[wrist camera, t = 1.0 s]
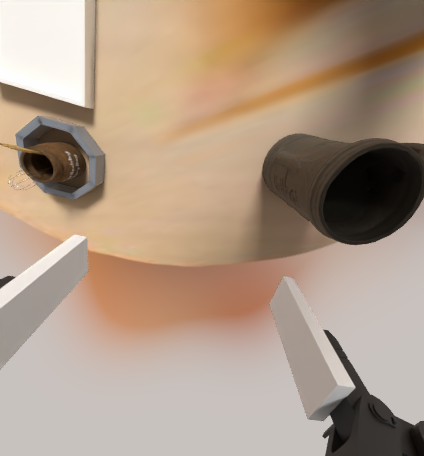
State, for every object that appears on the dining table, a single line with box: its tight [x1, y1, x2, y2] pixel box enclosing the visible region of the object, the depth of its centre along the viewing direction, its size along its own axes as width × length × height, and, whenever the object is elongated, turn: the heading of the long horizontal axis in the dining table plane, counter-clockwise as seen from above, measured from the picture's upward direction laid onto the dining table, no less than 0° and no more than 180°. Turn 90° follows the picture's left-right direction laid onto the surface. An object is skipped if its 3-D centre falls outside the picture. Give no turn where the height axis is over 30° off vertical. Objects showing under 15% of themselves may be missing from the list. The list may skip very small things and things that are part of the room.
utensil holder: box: [0, 142, 85, 190], centre depth 30 cm, size 6×6×12 cm
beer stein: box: [263, 134, 424, 245], centre depth 26 cm, size 15×11×20 cm
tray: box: [0, 0, 96, 109], centre depth 27 cm, size 16×14×2 cm
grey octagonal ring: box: [16, 116, 105, 200], centre depth 34 cm, size 12×12×3 cm
